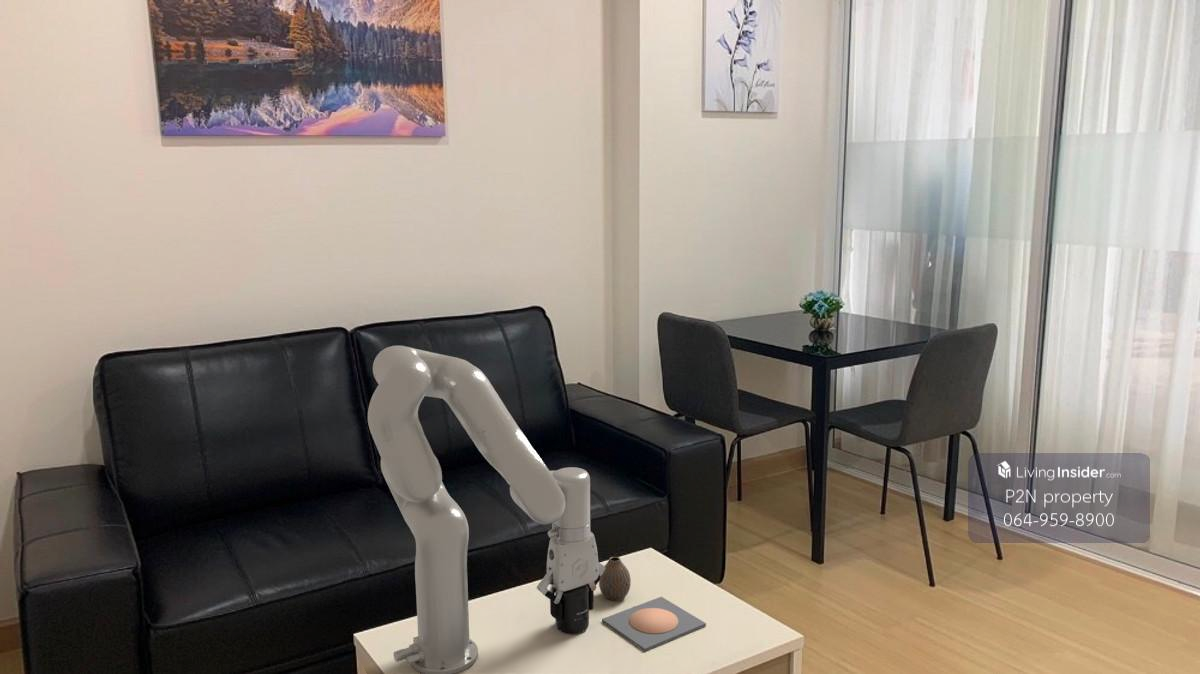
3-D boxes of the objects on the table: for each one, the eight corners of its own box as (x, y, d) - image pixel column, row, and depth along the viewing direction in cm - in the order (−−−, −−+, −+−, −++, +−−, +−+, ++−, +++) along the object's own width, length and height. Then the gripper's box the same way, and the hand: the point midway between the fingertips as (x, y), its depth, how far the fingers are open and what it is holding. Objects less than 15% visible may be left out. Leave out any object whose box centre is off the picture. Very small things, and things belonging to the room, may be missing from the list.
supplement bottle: (585, 637, 170) (584, 581, 167) (551, 633, 171) (551, 578, 169) (592, 619, 176) (592, 565, 174) (560, 616, 178) (559, 562, 175)
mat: (644, 651, 164) (644, 647, 164) (601, 621, 176) (601, 618, 175) (705, 625, 174) (706, 622, 174) (661, 599, 185) (661, 595, 185)
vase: (594, 601, 184) (594, 563, 182) (604, 587, 190) (604, 550, 189) (625, 606, 182) (626, 567, 180) (634, 591, 188) (634, 554, 187)
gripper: (544, 547, 162) (546, 634, 165) (617, 525, 172) (617, 607, 175) (524, 534, 168) (525, 618, 171) (595, 514, 178) (596, 593, 181)
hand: (572, 612), depth 173 cm, fingers closed on supplement bottle, 6 cm apart
